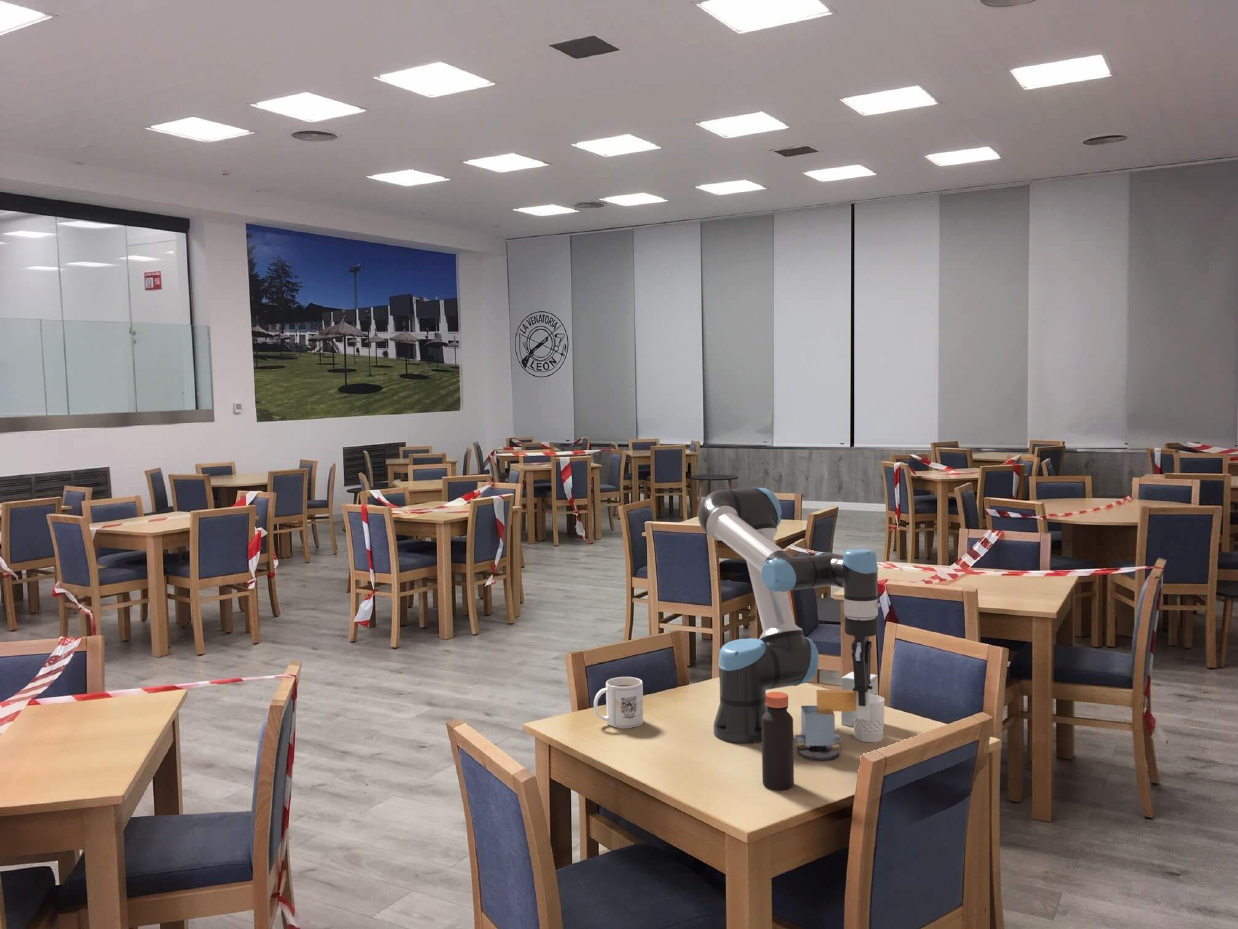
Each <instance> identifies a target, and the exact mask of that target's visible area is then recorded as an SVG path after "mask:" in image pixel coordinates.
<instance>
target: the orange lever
mask: <svg viewBox="0 0 1238 929" xmlns="http://www.w3.org/2000/svg"><path fill="white" fill-rule="evenodd" d="M800 708H801V710H800V711H801V713H800V714H801V715H800V719H801V720H800V721H801V728H800V729H801V734H795V741H796V743H800V742H804V743H805V745H806V746H835V744H836V743H841V741H842V740H841V736H840V734H836V727H835V726H836V724H835V722H836V720H835V718H836V717H835V716H836V715H835V713H834V712H841V711H857V707H856V691H853V690H841V689H816V705H801V706H800Z"/></svg>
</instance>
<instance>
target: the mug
mask: <svg viewBox="0 0 1238 929" xmlns="http://www.w3.org/2000/svg"><path fill="white" fill-rule="evenodd" d="M643 685H644V684H643V680H642V679H640V678H637V677H632V676H619V677H617V676H616V677H614V678H609V679H608V680H607V681H606V682H605V687H604V688H601V689H599V691H598V692H597V693H596V694H595V697H594V699H593V711H594V712H595V714H596V715H597V717H598V718H599V719H601V720H603V721H606V724H607V723H608V724H607V725H608V726H609V725H611V726H614V727H613V728H615V727H618V728H617V729H632V727H634V728H637V727H640V726H641V725H643V724H644V689H643V687H644V686H643ZM603 694H605V701H606V702H605V704H606V705H605V706H606V707H605V709H606V715H602V714H601V713H600V712H599V710H598V703H599V699H600V698H601V696H602V695H603ZM611 726H610V727H611ZM636 726H637V727H636Z"/></svg>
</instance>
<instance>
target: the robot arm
mask: <svg viewBox="0 0 1238 929" xmlns="http://www.w3.org/2000/svg"><path fill="white" fill-rule="evenodd" d="M782 515H783V514H782V507H781V503H780V501H779V499H778V497H777V495H776V494H775V493H774V492H773V491H771V490H769V489H768V488H765V487H747V488H731V489H719V490H718V489H717V490H715V491H712V492H711V493H709V494H707V495H706V496H705V497H704V498H703V500H702V501H701V503H700V504H699V507H698V513H697V517H698V521H699V525H700V527H701V528H702V530H703V531H704V532H705V533H706V534H707V535H708V536H709V537H710V538H712V539H713V540H718V541H722V542H723V543H724V544H725V545H727V546H728V547H729V548H731V550H733V551H734V552H735V553H737V554H738V555H739V556H740V557H742V558H743V559H744V560H745V561H746V566H747V569H748V573H749V574H748V575H749V578H750V582H751V586H752V591H753V595H754V599H755V604H756V607H757V610H758V615H759V619H760V623H761V628H762V633H761V634H760V637H759V638H751V637H750V638H739V639H734V640H732V641H731V640H730V641H729V642H726V643H725V644H723V645H722V647H721V648H720V649H719V655H718V668H719V669H718V670H719V704H718V708H717V711H716V715H715V719H714V722H713V735H714V736H715V737H717V738H718V739H720V740H722V741H727V742H731V743H741V744H750V743H751V744H753V743H754V744H755V743H759V742H762V716H763V714H764V713H765V712H766V711H767V707H766V696H765V695H766V694H767V692H766V691H768V690H774V689H781V688H786V687H796V686H800V685H802V684H807V683H809V682H811V681H812V680H813V679H814V678H815V676H816V674H817V671H818V669H819V661H820V660H819V658H820V657H819V650H818V648H817V645H816V644H815V643H814V642H813V640H812V639H811V638H809V637H806V636H805V635H804V631H803V628H802V627H799V626H798V625H797V624H796V623H795V618H794V615H793V611H792V608H791V603H790V598H789V594H788V592H789V591H795V590H796V591H797V590H804V589H815V588H823V587H831V586H832V587H838V588H843V592H844V594H843V614H844V615H845V616H846V617H845V618H844V632H845V634H847V635H849V636H853V638H854V640H853V642H851V650H852V652H851V658H852V667H853V672H854V685H855V687H854V688H853V691H856V707H857V719H864V720H869V718H870V708H869V690H868V689H872V687H873V686H869V684H870V683H871V681H870V674H871V659H872V654H871V652H872V647H873V646H872V645H873V644H872V641H871V640H870V637H873V636H874V637H875V636H877V635H878V634H879V619H878V617H877V616H878V615H879V608H881V603H880V602H878V601H879V600H878V596H879V593H878V592H879V588H878V587H879V586H878V584H879V583H878V578H879V576H878V573H879V572H878V571H879V566H878V559H877V557H878V556H877V552H875V550H873V549H868V548H849V549H846V550H844V551H843V554H837V553H834V552H829V551H828V552H826V551H821V552H817V553H815V554H814V555H807V556H805V555H804V556H796V557H795V556H792V555H791V554H790V553H788V552H786V551H785V550H784V549H782V548H781V547H780V546H778V545H777V544H776V542H775V539H774V538H775V536H776V534H777V533H778V527H779V526H780V524H781V522H782V517H781V516H782Z"/></svg>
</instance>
